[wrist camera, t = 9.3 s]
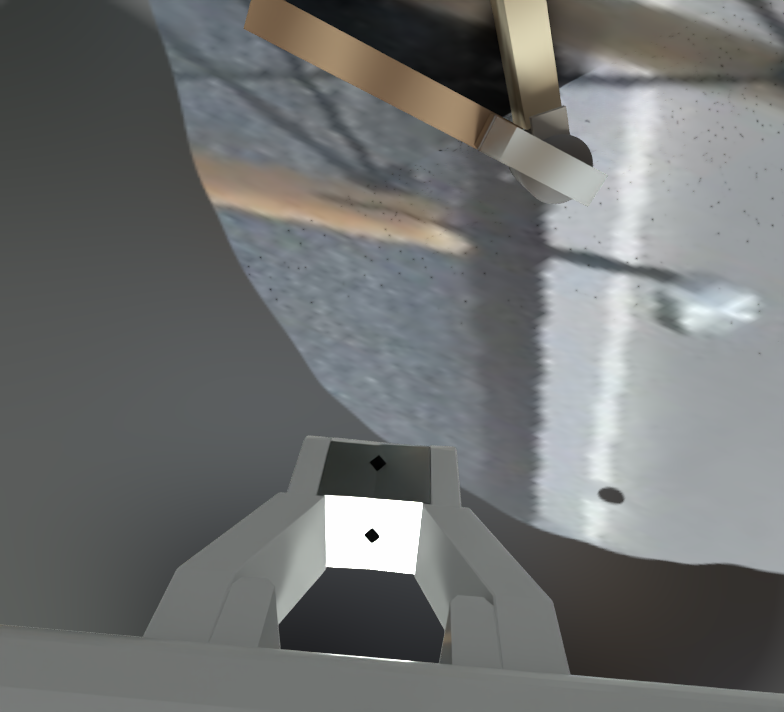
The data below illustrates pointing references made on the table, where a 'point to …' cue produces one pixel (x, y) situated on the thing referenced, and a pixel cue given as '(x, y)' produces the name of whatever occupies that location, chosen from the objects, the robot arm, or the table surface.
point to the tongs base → (534, 84)
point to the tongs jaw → (421, 97)
